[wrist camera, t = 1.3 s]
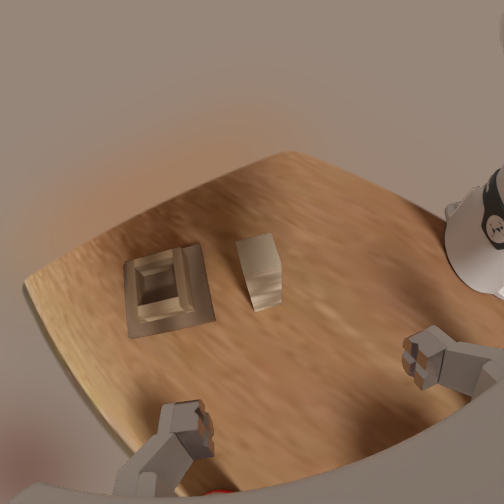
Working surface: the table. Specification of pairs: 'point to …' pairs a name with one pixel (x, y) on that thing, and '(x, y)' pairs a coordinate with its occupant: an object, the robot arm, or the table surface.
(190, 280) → the wooden socket base
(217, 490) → the beer can
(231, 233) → the table surface
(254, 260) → the beige rectangular block
